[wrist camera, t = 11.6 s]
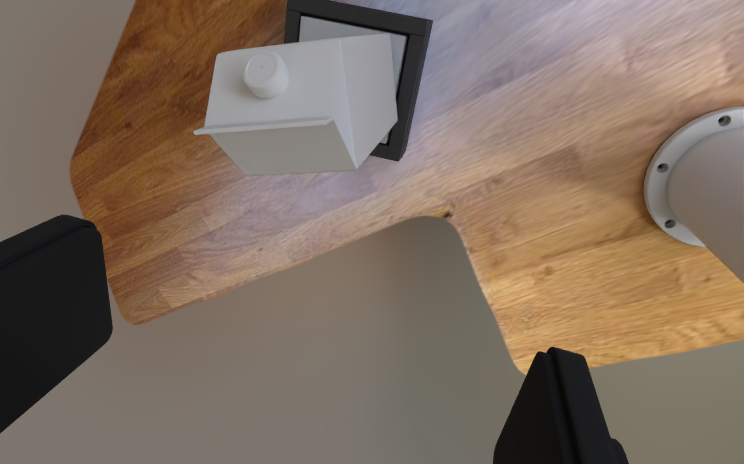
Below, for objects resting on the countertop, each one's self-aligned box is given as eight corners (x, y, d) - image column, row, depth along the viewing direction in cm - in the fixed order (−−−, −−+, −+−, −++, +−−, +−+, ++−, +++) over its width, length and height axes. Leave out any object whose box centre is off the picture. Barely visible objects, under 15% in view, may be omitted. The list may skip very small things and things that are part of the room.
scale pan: (408, 36, 37) (405, 36, 36) (388, 140, 41) (385, 144, 40) (307, 16, 38) (300, 15, 37) (297, 119, 42) (291, 122, 41)
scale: (433, 20, 39) (428, 19, 35) (405, 151, 44) (399, 162, 41) (303, -5, 40) (287, -8, 37) (292, 125, 46) (276, 134, 42)
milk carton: (398, 120, 39) (337, 194, 22) (321, 126, 40) (211, 199, 24) (390, 32, 36) (314, 39, 19) (308, 42, 38) (172, 57, 21)
